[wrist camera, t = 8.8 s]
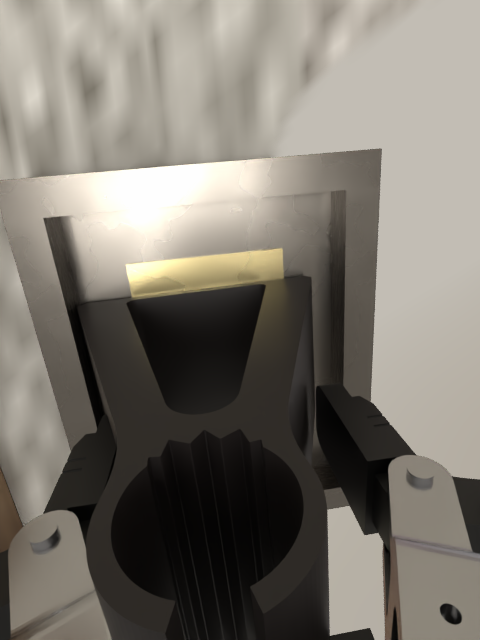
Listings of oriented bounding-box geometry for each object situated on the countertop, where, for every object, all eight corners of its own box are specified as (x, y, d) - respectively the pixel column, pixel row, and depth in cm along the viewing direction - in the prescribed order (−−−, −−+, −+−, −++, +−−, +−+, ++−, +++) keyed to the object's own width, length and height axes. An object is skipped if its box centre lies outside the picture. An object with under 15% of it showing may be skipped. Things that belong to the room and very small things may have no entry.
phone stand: (112, 432, 16) (-59, 967, 5) (79, 302, 14) (-325, 726, 3) (312, 403, 17) (540, 814, 6) (309, 275, 15) (651, 537, 4)
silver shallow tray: (344, 463, 20) (365, 502, 18) (111, 500, 19) (99, 547, 17) (349, 154, 15) (381, 148, 12) (27, 181, 14) (-9, 180, 11)
